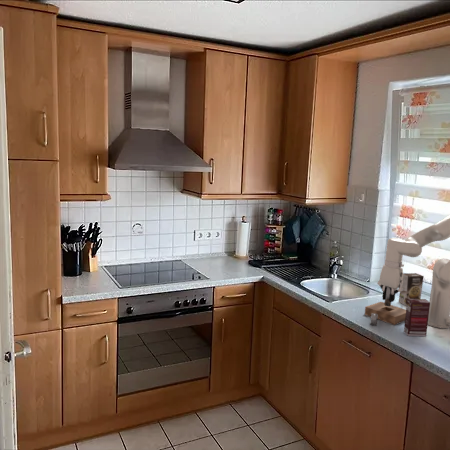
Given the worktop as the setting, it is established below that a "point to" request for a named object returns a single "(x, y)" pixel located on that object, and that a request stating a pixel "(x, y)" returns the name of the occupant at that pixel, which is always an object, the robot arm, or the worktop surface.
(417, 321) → the supplement box
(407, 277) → the coffee box
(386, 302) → the long pin
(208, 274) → the worktop surface
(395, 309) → the hole block
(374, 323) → the short pin
